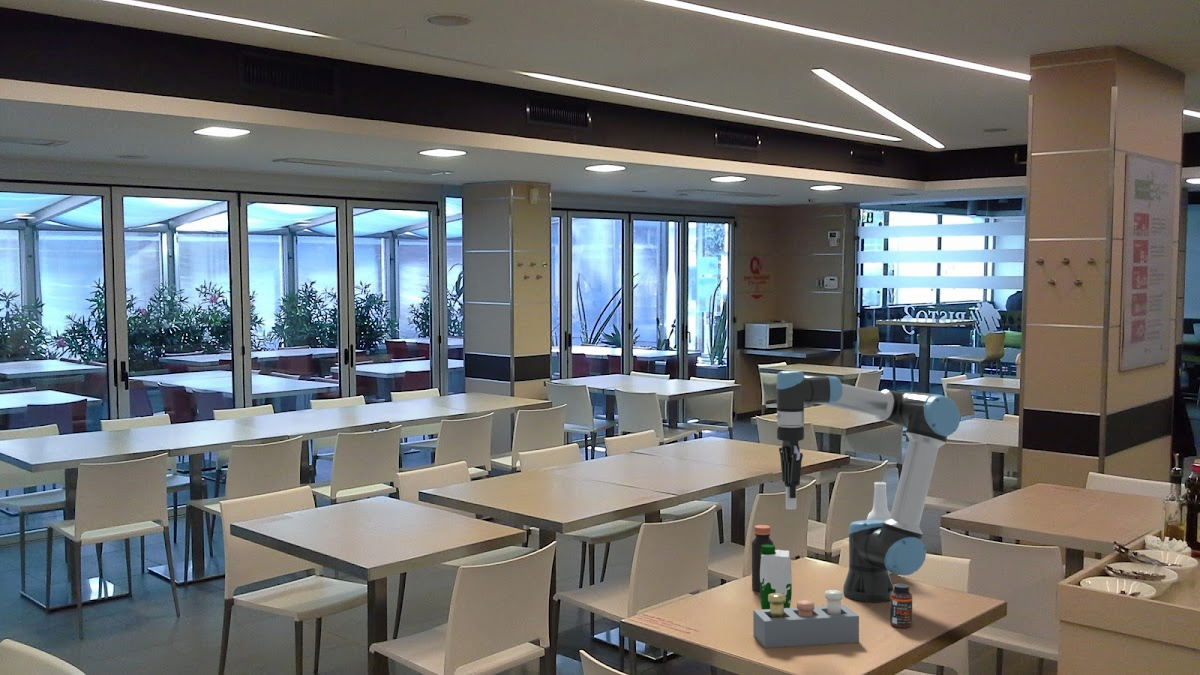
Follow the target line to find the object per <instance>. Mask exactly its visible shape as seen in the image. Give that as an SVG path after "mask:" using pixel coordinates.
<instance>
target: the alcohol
mask: <svg viewBox="0 0 1200 675" xmlns="http://www.w3.org/2000/svg"><path fill="white" fill-rule="evenodd" d="M873 484H874V486H873V487H874V489H873V490H874V492H873V504H872V510H871V511H870V512H869V513H868V515H867V516H866V520H883V521H885V520H887V519H889V518H890V515H891V511H889V507H888V496H887V495H888V494H887V483H886V482H885V481H874V483H873ZM888 573H889V575H891V574H893V573H891V572H890V571H888Z"/></svg>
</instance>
